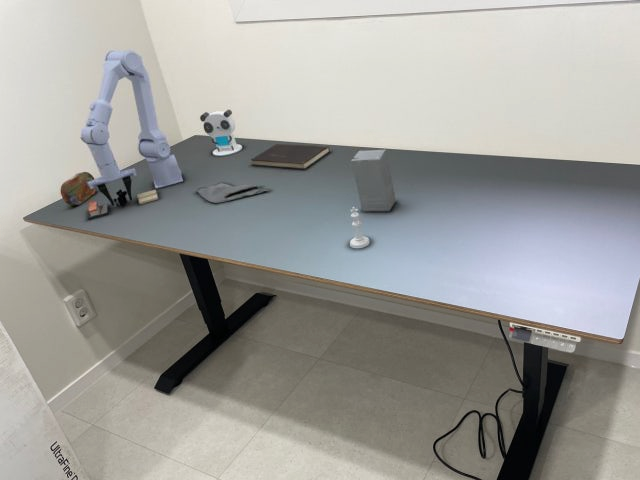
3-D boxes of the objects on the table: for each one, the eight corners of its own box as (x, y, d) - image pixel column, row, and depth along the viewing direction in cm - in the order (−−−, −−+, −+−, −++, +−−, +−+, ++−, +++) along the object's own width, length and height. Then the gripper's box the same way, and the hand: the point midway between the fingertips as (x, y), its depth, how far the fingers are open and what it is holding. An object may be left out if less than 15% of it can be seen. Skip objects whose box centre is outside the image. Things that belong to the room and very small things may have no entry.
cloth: (184, 199, 183) (181, 193, 182) (213, 182, 192) (211, 176, 191) (244, 207, 170) (242, 201, 169) (272, 188, 180) (271, 182, 179)
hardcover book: (304, 169, 190) (303, 163, 189) (252, 165, 201) (250, 159, 200) (330, 152, 201) (328, 145, 200) (279, 149, 212) (277, 143, 211)
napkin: (156, 193, 191) (155, 189, 191) (158, 199, 186) (157, 195, 186) (138, 198, 190) (137, 194, 189) (139, 204, 185) (138, 200, 184)
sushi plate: (108, 205, 188) (104, 198, 186) (108, 214, 181) (104, 206, 180) (89, 211, 186) (85, 203, 185) (88, 220, 180) (85, 212, 178)
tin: (73, 209, 190) (63, 186, 185) (66, 209, 191) (55, 186, 186) (100, 190, 202) (90, 167, 198) (92, 190, 203) (83, 168, 198)
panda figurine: (206, 157, 216) (194, 118, 208) (218, 146, 226) (207, 108, 218) (235, 154, 214) (224, 115, 206) (246, 143, 223) (235, 105, 215)
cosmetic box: (396, 201, 159) (389, 147, 150) (388, 213, 153) (380, 158, 145) (368, 201, 162) (359, 148, 153) (359, 212, 156) (350, 158, 148)
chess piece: (349, 240, 144) (342, 204, 138) (368, 237, 144) (362, 201, 138) (350, 249, 139) (343, 213, 134) (370, 246, 139) (364, 210, 134)
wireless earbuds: (128, 200, 190) (122, 186, 187) (134, 199, 189) (129, 185, 186) (115, 209, 184) (109, 195, 181) (122, 209, 184) (116, 195, 181)
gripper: (127, 152, 184) (142, 191, 191) (80, 166, 179) (98, 205, 186) (130, 158, 178) (146, 197, 185) (82, 172, 173) (100, 212, 180)
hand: (122, 201), depth 185 cm, fingers open, 5 cm apart
